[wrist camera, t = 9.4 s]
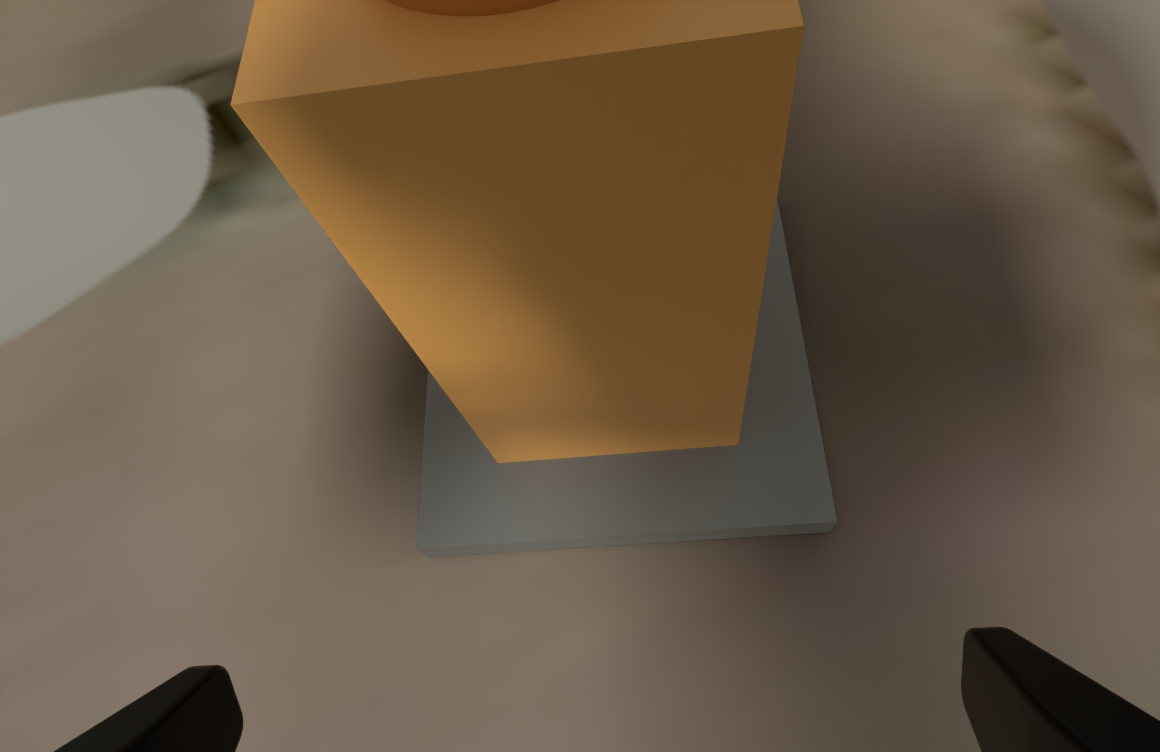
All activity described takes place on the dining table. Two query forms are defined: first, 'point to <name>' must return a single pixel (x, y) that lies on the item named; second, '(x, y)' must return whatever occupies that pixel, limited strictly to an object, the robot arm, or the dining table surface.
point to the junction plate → (643, 466)
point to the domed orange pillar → (545, 197)
